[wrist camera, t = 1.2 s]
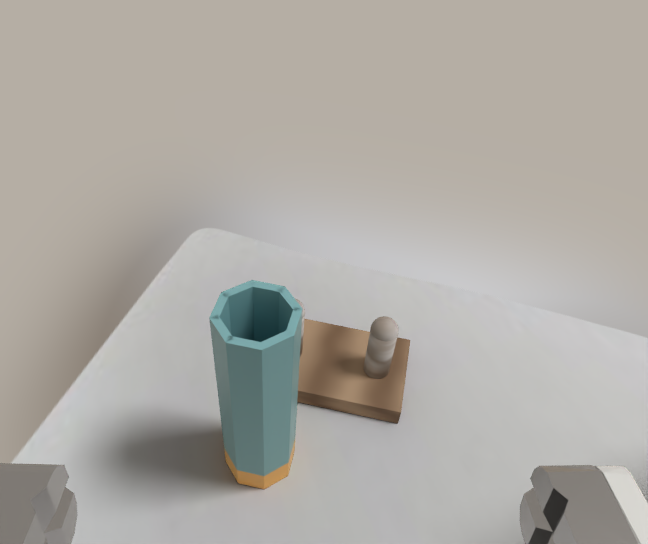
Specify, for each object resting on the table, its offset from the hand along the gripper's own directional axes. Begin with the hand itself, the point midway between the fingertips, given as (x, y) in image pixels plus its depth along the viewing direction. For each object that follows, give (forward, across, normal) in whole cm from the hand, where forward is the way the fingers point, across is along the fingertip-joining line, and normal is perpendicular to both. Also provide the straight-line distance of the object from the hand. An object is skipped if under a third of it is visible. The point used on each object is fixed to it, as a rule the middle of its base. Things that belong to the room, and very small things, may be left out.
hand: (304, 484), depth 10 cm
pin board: (+38, +4, -34) cm, 51 cm away
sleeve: (+28, -3, -36) cm, 45 cm away
